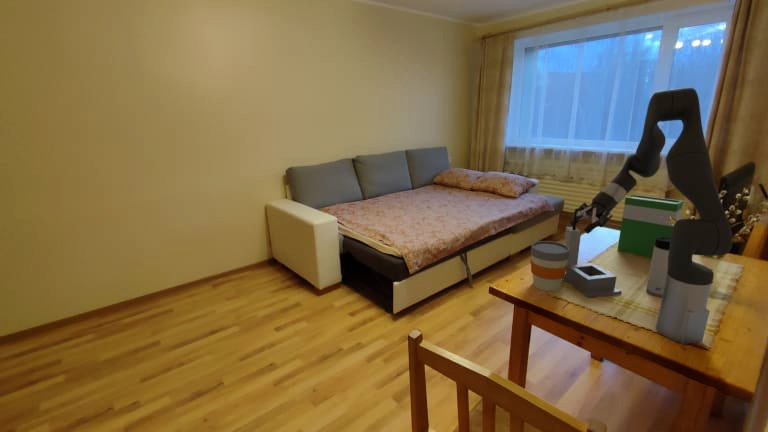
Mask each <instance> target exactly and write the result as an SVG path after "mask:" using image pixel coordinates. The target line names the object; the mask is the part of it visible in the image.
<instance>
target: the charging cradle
mask: <svg viewBox="0 0 768 432" xmlns="http://www.w3.org/2000/svg"><path fill="white" fill-rule="evenodd" d="M562 281H564V282H565V283H567V284H568V285H570V286H571V287H573V288H574V289H575V290H577V291H578V292H579V293H581V294H582V295H583V296H585V297H586V298H588V299H593V298H602V297H609V296H618V295H619V296H620V295H622V290H621V289H620V288H617V287H616V281H617V275H615V274H613V273H612V272H611V271H608V270H606V269H605V268H604V267H601V266H599V265H598V264H596V263H594V262H588V263H580V264H579V263H577V265H568V266H567V269H566V273H565V276H564V277H563V279H562Z"/></svg>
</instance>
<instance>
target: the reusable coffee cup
mask: <svg viewBox="0 0 768 432" xmlns="http://www.w3.org/2000/svg"><path fill="white" fill-rule="evenodd" d="M530 255H531V258H530V271H531V273H532V283H533V284H532V285H533V286H534V288H536V289H538V290H539V291H544V292H557V291H559V290H560V289H561V286H562V283H563V277H564V276H565V274H566V269H567V265H568V264H567V260H568V258H569V247H567V246H566V245H565V243H561V242H558V241H552V240H541V241H540V240H538V241H534V242H533V243H531V247H530Z"/></svg>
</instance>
